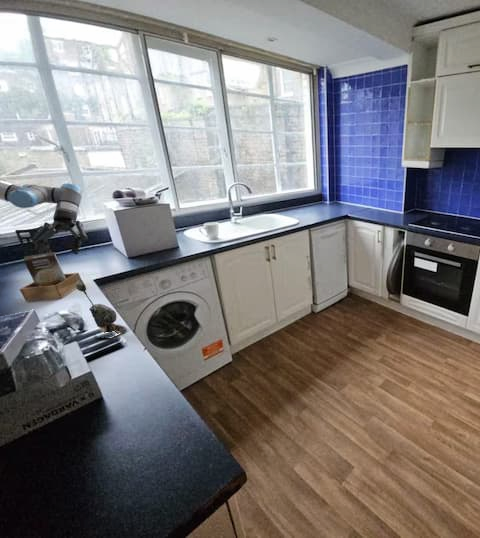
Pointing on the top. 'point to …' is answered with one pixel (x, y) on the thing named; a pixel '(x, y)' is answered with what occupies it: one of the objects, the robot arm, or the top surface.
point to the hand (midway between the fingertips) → (56, 254)
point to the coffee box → (44, 269)
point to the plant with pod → (102, 314)
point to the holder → (32, 234)
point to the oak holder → (50, 289)
